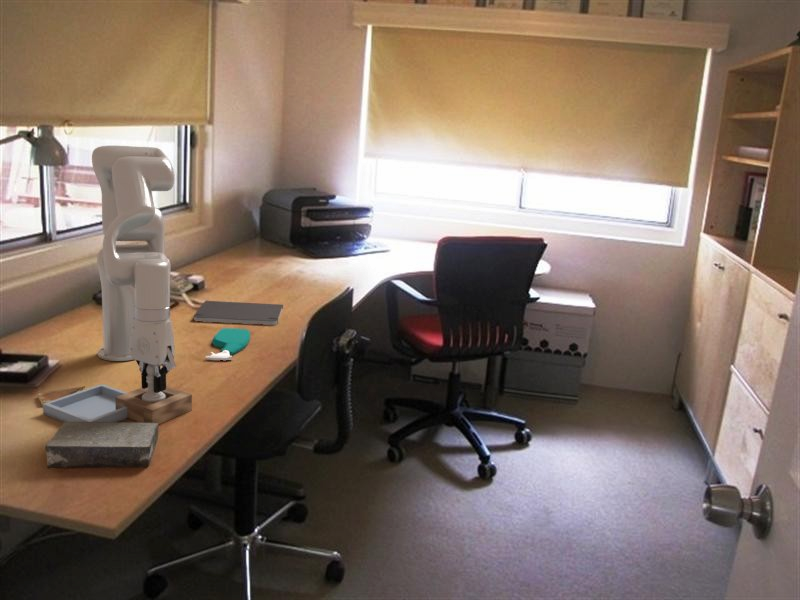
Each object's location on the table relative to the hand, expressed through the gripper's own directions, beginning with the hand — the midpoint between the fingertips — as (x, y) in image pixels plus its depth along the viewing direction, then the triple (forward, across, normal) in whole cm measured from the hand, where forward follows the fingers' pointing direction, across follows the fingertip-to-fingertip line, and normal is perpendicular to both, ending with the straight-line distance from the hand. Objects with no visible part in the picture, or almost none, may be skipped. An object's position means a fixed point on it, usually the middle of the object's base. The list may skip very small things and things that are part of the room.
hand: (153, 388), depth 167 cm
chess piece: (+3, 0, 0) cm, 3 cm away
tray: (+6, -10, -8) cm, 14 cm away
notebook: (+6, -40, +75) cm, 85 cm away
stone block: (+7, +8, -20) cm, 22 cm away
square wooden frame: (+6, 0, 0) cm, 6 cm away
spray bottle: (+6, -19, +46) cm, 50 cm away
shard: (+7, -24, -8) cm, 26 cm away
